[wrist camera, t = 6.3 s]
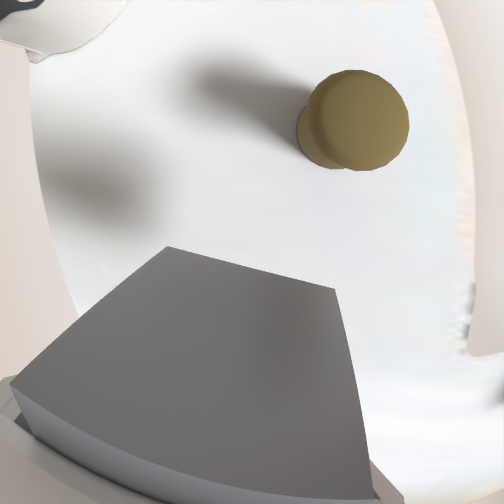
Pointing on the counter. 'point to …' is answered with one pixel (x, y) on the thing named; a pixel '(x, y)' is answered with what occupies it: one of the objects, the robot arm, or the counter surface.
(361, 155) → the cork
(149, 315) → the block
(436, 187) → the counter surface
